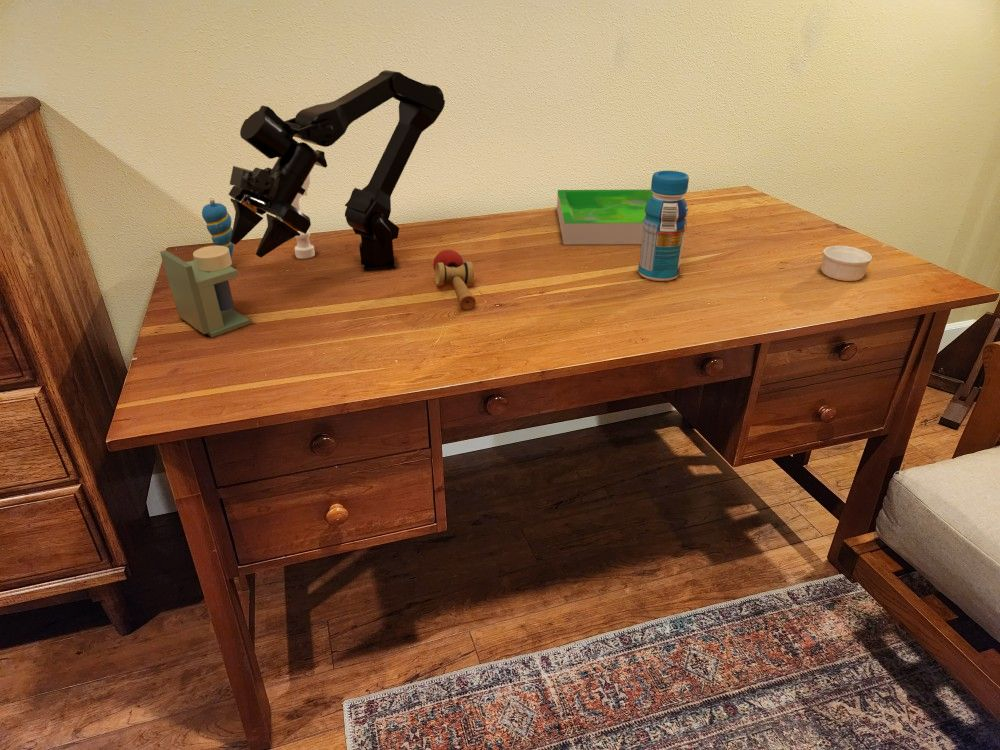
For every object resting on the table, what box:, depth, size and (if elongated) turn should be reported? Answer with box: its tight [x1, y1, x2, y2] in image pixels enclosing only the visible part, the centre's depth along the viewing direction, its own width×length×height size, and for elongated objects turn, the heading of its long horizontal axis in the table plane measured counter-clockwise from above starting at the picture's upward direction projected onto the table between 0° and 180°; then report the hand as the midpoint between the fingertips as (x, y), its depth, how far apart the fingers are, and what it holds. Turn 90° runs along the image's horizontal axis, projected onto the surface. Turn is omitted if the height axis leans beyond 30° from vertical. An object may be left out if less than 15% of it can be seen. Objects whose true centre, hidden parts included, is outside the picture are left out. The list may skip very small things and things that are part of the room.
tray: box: [556, 189, 654, 245], centre depth 160 cm, size 25×25×5 cm
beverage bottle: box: [637, 170, 690, 282], centre depth 130 cm, size 8×8×20 cm
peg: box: [192, 245, 235, 311], centre depth 117 cm, size 6×6×10 cm
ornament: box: [201, 198, 234, 267], centre depth 136 cm, size 5×5×15 cm
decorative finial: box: [292, 137, 316, 260], centre depth 140 cm, size 6×4×25 cm
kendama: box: [432, 249, 476, 311], centre depth 128 cm, size 8×6×18 cm
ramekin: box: [820, 245, 873, 282], centre depth 134 cm, size 9×9×4 cm
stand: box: [159, 250, 252, 338], centre depth 116 cm, size 8×11×13 cm
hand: (245, 249), depth 118 cm, fingers open, 9 cm apart
